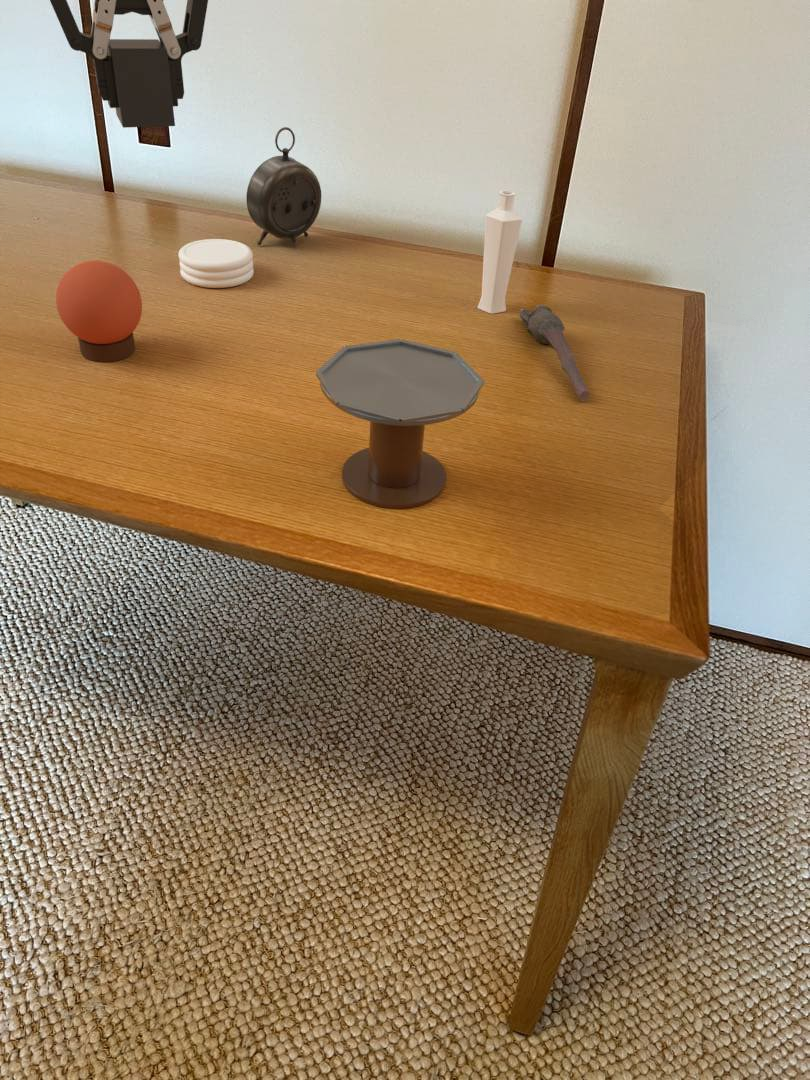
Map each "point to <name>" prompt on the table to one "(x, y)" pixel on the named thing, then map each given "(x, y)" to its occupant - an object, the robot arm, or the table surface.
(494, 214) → the perfume bottle
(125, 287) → the ball
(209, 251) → the coaster
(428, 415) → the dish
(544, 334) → the natural artifact
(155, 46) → the block
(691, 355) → the table surface
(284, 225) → the alarm clock
